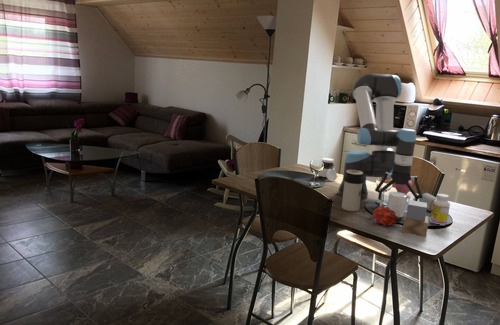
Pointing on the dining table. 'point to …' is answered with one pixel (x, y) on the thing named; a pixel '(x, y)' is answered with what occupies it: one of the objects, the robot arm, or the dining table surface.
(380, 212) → the dragon fruit
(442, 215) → the supplement bottle
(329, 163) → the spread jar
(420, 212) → the gray block
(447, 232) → the dining table surface
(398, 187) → the apple
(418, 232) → the walnut base block
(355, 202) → the travel mug
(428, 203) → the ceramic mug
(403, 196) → the white cup
